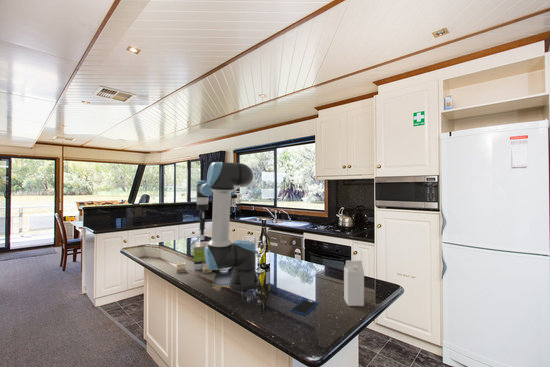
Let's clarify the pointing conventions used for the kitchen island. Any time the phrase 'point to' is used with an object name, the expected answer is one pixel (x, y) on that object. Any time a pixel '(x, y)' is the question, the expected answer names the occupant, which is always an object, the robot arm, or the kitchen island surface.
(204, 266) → the marked block
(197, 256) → the tea box
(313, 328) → the kitchen island surface
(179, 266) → the marked block
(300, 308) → the cell phone
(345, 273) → the milk carton
